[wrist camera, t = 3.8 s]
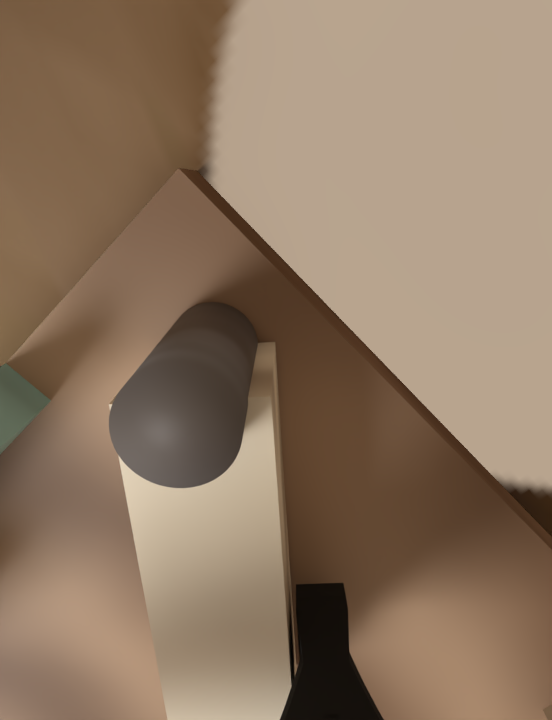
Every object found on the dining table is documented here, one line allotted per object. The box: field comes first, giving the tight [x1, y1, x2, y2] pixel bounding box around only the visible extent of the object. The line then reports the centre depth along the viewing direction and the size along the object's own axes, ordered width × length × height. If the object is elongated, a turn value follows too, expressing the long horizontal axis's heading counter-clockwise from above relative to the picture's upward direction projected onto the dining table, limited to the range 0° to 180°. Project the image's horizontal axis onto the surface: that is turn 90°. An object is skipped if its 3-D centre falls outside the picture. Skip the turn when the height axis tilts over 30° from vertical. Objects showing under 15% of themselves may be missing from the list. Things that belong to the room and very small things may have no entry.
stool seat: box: [0, 168, 552, 720], centre depth 12 cm, size 15×19×6 cm
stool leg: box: [109, 302, 297, 720], centre depth 10 cm, size 10×2×4 cm, turn 4°
